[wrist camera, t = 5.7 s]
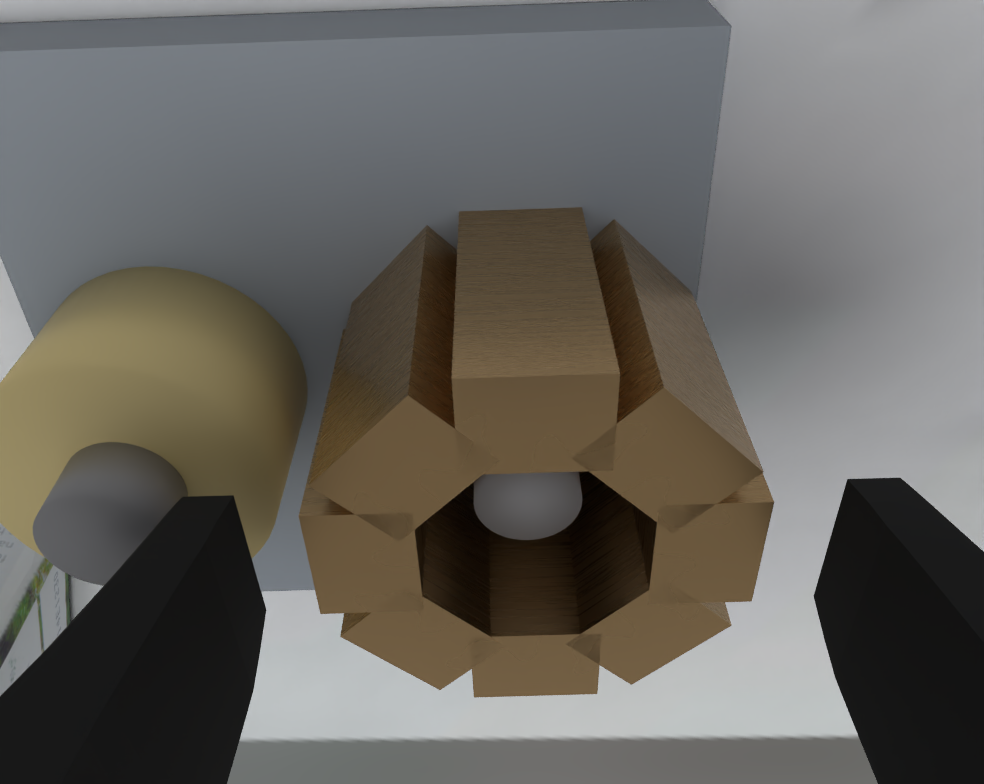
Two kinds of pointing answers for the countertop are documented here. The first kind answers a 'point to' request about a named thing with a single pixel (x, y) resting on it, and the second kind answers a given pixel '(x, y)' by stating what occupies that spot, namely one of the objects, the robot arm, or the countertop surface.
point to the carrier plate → (296, 232)
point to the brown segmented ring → (531, 461)
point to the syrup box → (28, 606)
